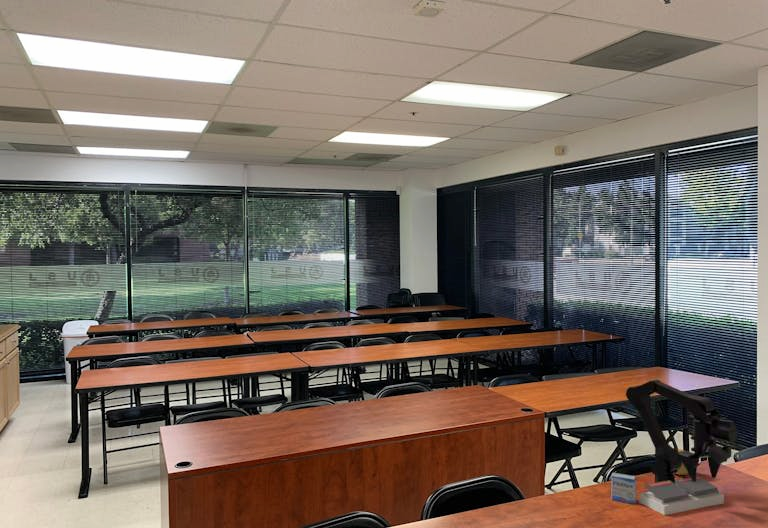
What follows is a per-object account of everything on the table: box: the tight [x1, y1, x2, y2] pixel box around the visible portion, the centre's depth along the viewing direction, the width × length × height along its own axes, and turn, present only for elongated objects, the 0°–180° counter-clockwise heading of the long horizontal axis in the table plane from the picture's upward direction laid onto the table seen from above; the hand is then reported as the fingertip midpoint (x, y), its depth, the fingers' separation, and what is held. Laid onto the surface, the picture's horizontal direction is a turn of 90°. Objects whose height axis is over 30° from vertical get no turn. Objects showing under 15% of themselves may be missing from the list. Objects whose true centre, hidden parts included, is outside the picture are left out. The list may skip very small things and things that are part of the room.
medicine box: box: [610, 472, 637, 505], centre depth 197 cm, size 8×4×9 cm, turn 62°
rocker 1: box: [644, 480, 689, 502], centre depth 192 cm, size 8×11×2 cm
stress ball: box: [674, 448, 689, 476], centre depth 222 cm, size 10×10×10 cm
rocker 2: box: [675, 475, 719, 495], centre depth 197 cm, size 8×11×2 cm
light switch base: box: [638, 486, 725, 516], centre depth 195 cm, size 11×27×4 cm, turn 110°
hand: (703, 479), depth 194 cm, fingers open, 9 cm apart
